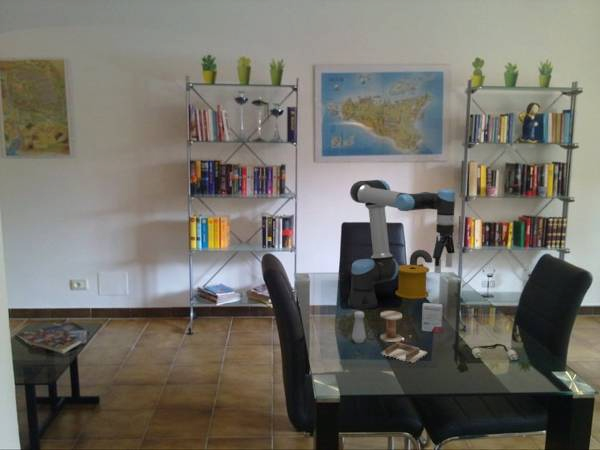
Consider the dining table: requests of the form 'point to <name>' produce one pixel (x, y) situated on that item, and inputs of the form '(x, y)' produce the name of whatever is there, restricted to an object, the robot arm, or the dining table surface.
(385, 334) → the bobbin
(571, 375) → the dining table surface
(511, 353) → the cable
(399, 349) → the board
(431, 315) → the ink box
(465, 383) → the dining table surface
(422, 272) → the spool
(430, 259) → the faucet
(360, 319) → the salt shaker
